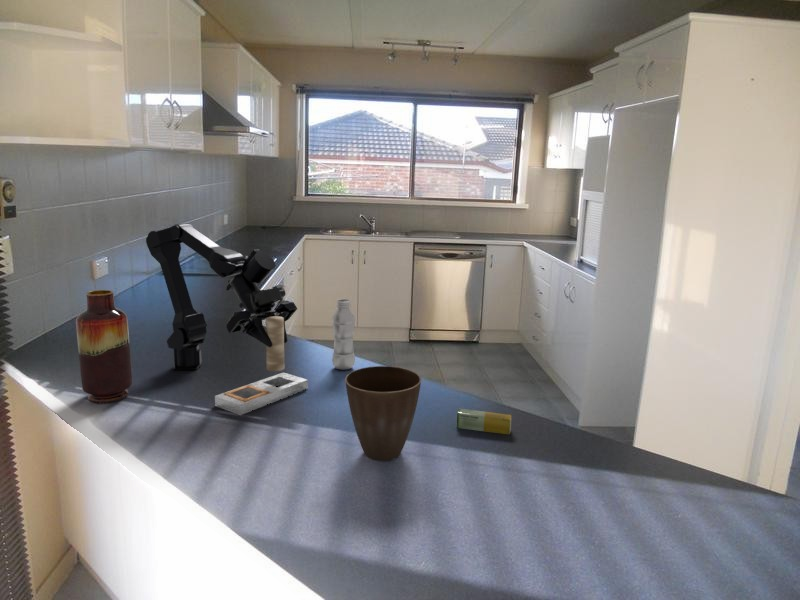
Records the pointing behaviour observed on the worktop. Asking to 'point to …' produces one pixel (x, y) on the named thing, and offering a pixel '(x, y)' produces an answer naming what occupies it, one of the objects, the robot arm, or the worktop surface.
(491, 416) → the medication box
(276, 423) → the worktop surface
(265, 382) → the white peg board
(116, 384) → the vase
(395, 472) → the worktop surface
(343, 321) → the plastic bottle
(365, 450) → the plant pot
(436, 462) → the worktop surface
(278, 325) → the maple peg
